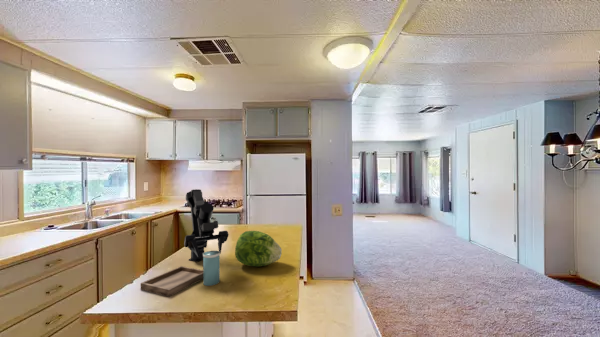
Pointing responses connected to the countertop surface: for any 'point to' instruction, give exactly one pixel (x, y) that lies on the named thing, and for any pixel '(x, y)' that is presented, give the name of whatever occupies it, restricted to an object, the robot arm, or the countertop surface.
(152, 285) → the tray
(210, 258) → the cup
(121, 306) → the countertop surface
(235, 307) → the countertop surface
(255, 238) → the lettuce
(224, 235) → the robot arm
